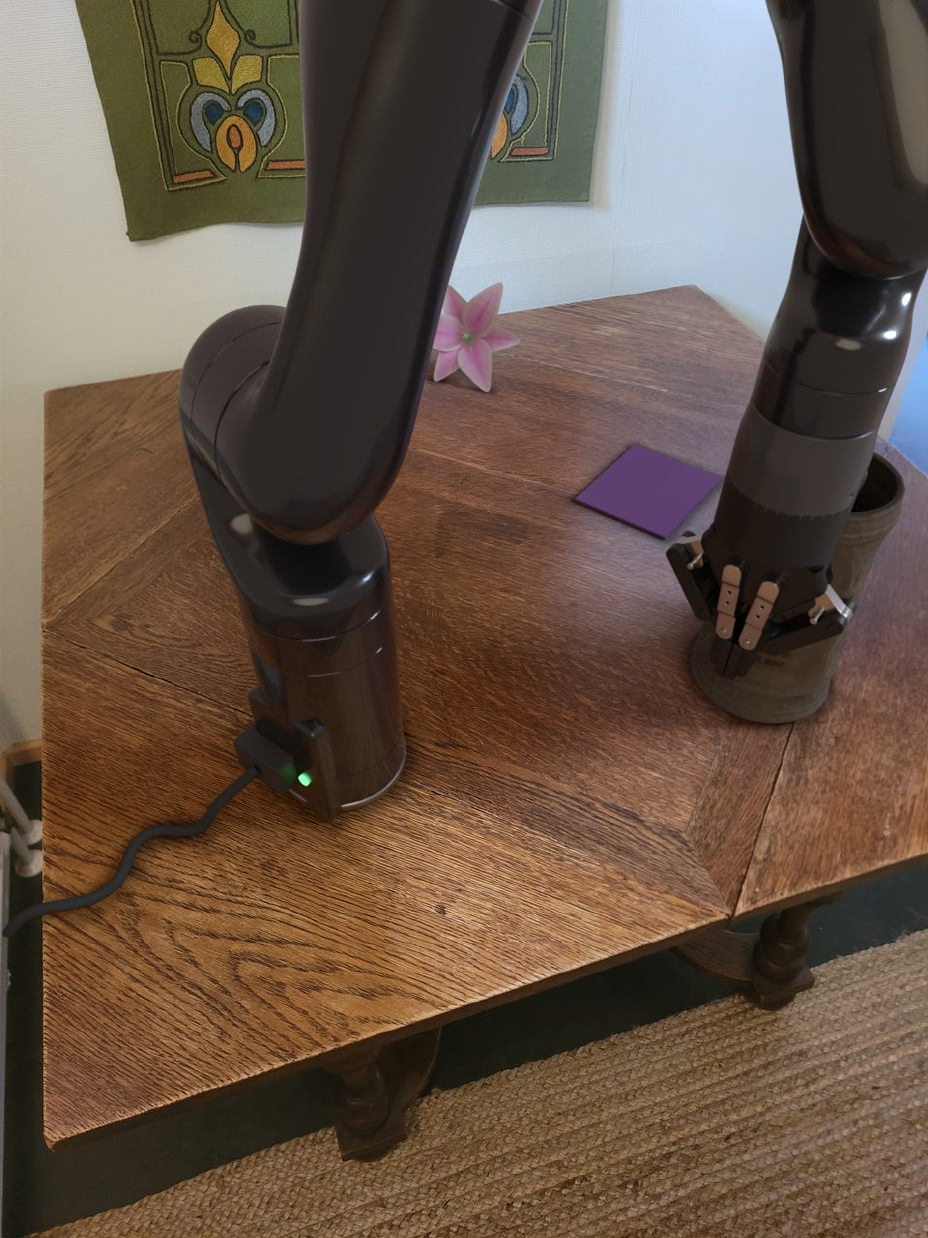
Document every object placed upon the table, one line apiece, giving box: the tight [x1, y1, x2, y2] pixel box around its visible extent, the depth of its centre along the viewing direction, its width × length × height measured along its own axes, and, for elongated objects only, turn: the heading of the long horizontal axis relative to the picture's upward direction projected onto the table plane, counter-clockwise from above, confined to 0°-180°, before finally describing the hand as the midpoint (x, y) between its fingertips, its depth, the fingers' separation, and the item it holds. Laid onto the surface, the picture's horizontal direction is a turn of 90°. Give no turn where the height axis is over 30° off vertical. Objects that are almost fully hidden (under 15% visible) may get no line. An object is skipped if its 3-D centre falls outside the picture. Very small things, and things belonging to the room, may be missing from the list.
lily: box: [432, 282, 521, 393], centre depth 103 cm, size 12×12×10 cm
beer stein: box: [689, 451, 906, 724], centre depth 65 cm, size 15×11×20 cm
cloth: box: [574, 444, 721, 540], centre depth 88 cm, size 12×10×1 cm
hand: (728, 670), depth 64 cm, fingers closed
